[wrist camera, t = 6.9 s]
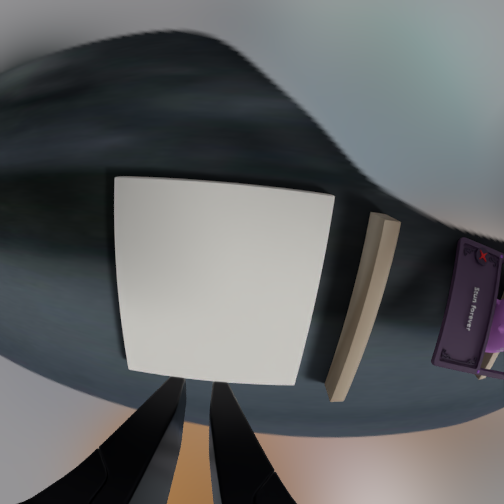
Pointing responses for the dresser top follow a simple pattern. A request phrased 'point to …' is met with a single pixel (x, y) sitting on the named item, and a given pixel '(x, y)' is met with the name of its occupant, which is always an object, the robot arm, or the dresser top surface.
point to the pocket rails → (368, 305)
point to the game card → (472, 311)
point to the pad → (217, 276)
